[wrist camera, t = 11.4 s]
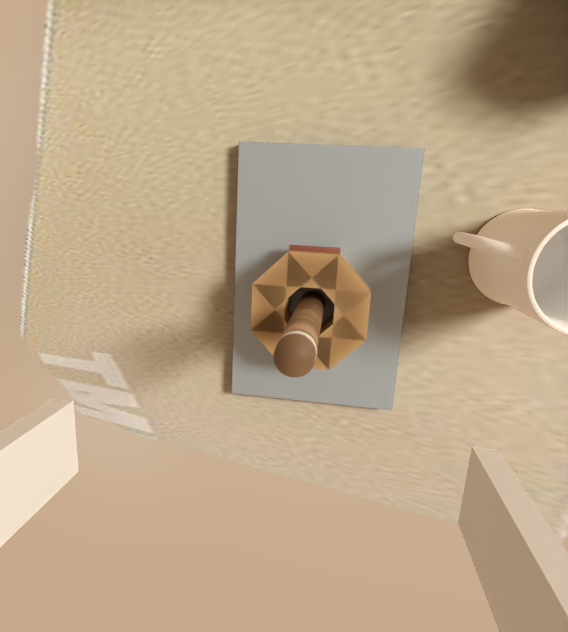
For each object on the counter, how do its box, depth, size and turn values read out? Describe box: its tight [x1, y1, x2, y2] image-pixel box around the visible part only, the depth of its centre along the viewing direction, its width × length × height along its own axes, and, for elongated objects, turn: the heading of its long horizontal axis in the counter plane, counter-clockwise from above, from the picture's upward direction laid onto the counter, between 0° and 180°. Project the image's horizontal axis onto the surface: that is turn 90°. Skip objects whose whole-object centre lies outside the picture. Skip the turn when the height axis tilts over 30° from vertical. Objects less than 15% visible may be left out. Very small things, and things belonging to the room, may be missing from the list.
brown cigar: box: [273, 291, 325, 378], centre depth 32 cm, size 2×2×16 cm
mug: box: [453, 208, 568, 335], centre depth 32 cm, size 12×9×12 cm
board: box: [232, 142, 425, 410], centre depth 40 cm, size 24×16×1 cm, turn 177°
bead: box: [251, 245, 371, 370], centre depth 38 cm, size 11×10×4 cm
